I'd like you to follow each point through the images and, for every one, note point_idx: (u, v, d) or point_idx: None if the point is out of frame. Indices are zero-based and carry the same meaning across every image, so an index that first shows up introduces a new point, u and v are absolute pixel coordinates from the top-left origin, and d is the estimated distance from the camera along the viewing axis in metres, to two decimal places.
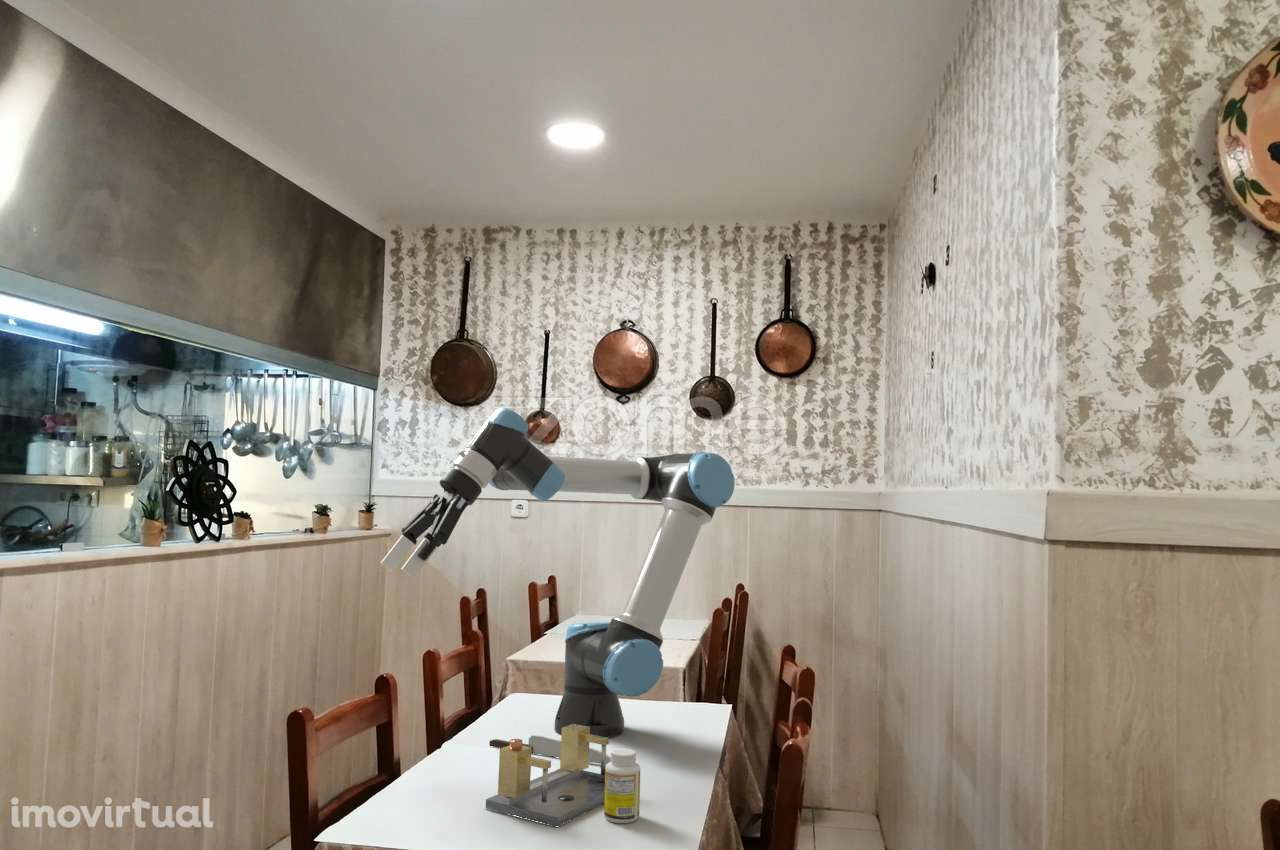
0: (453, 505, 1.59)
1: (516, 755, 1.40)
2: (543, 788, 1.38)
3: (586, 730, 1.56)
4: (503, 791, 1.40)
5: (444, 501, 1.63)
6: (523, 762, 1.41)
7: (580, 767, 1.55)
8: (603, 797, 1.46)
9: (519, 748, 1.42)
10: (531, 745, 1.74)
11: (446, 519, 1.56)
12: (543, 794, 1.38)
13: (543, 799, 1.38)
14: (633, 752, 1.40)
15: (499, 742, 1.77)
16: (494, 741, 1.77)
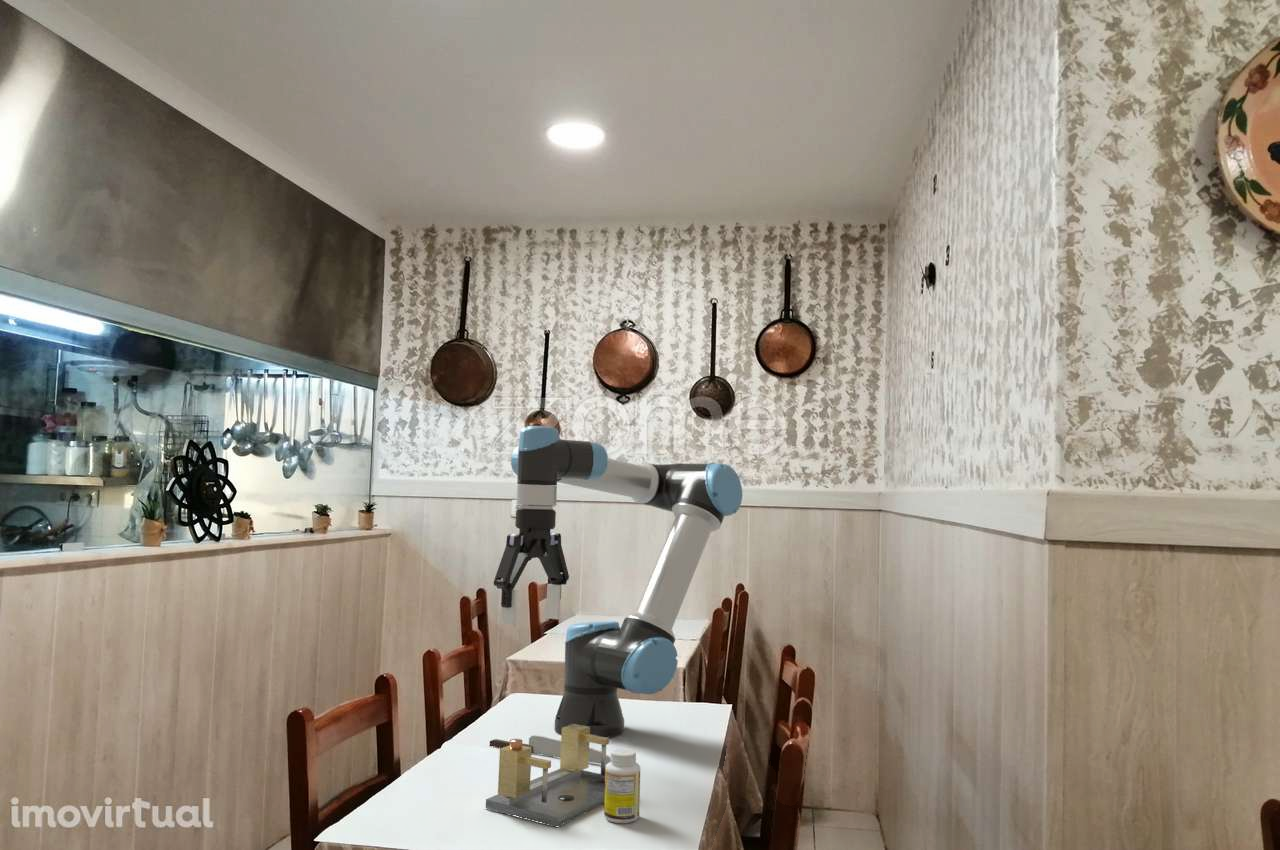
0: (507, 546, 1.62)
1: (516, 755, 1.40)
2: (543, 788, 1.38)
3: (586, 730, 1.56)
4: (503, 791, 1.40)
5: None
6: (523, 762, 1.41)
7: (580, 767, 1.55)
8: (603, 797, 1.46)
9: (519, 748, 1.42)
10: (531, 745, 1.74)
11: (501, 563, 1.60)
12: (543, 794, 1.38)
13: (543, 799, 1.38)
14: (633, 752, 1.40)
15: (499, 742, 1.77)
16: (494, 741, 1.77)
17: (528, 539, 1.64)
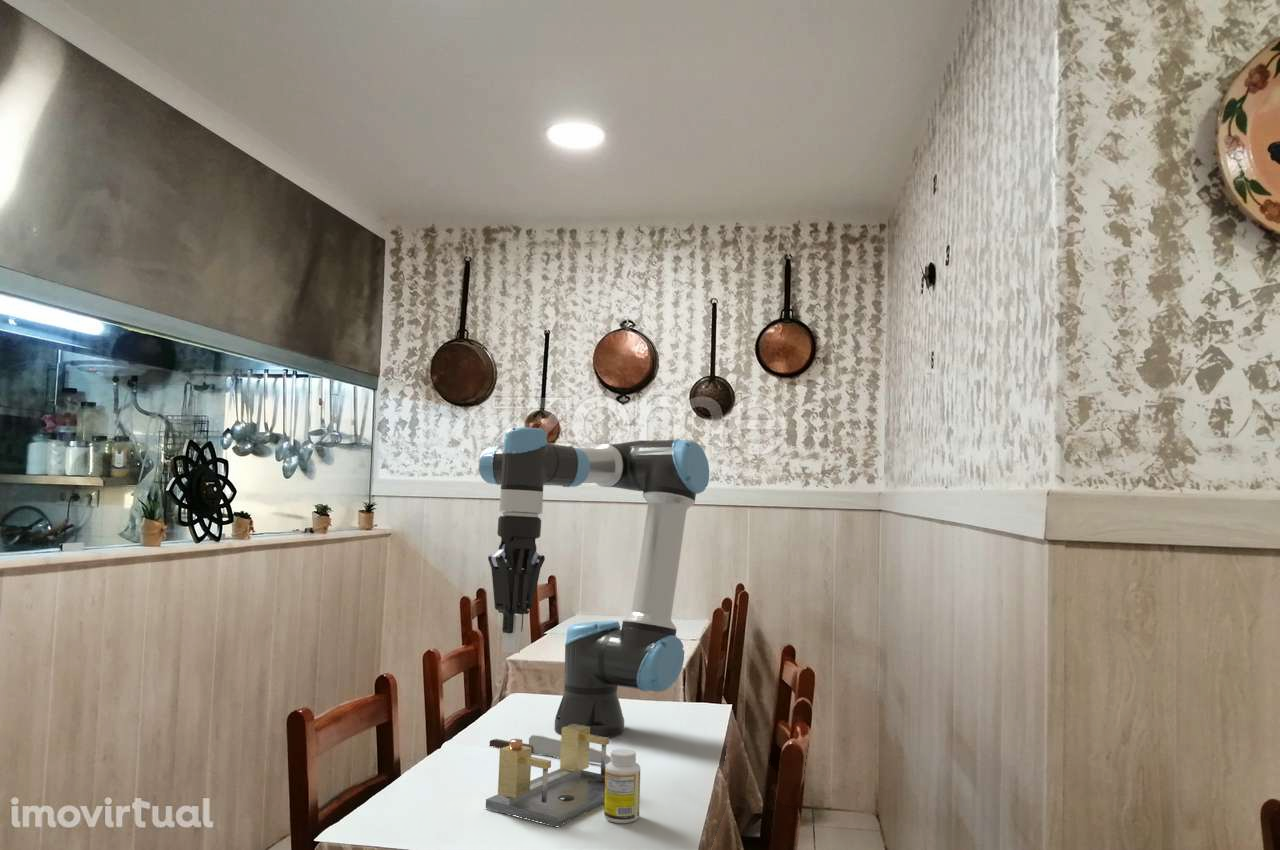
0: (492, 568, 1.51)
1: (516, 755, 1.40)
2: (543, 788, 1.38)
3: (586, 730, 1.56)
4: (503, 791, 1.40)
5: None
6: (523, 762, 1.41)
7: (580, 767, 1.55)
8: (603, 797, 1.46)
9: (519, 748, 1.42)
10: (531, 745, 1.74)
11: (494, 587, 1.51)
12: (543, 794, 1.38)
13: (543, 799, 1.38)
14: (633, 752, 1.40)
15: (499, 742, 1.77)
16: (494, 741, 1.77)
17: (510, 549, 1.52)
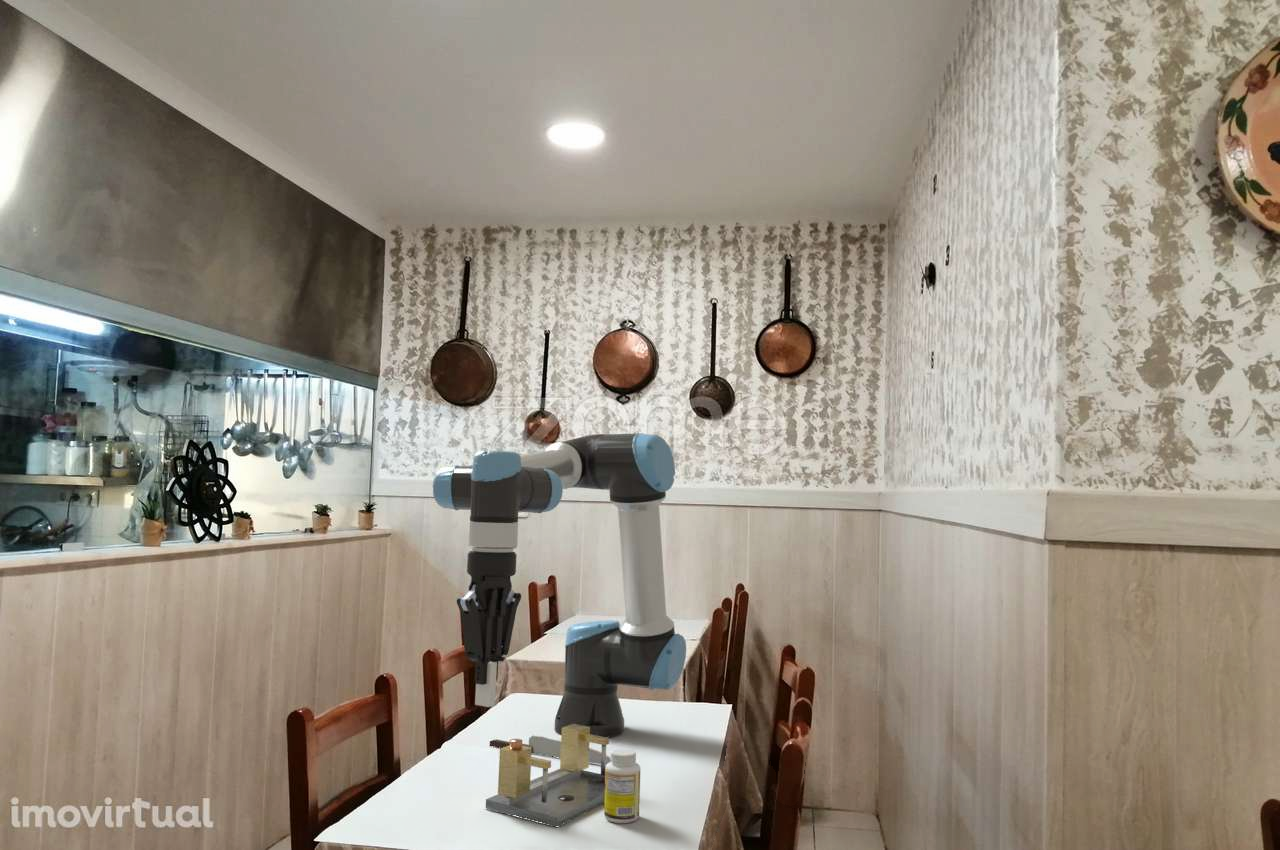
0: (461, 612, 1.33)
1: (516, 755, 1.40)
2: (543, 788, 1.38)
3: (586, 730, 1.56)
4: (503, 791, 1.40)
5: None
6: (523, 762, 1.41)
7: (580, 767, 1.55)
8: (603, 797, 1.46)
9: (519, 748, 1.42)
10: (531, 745, 1.74)
11: (464, 633, 1.34)
12: (543, 794, 1.38)
13: (543, 799, 1.38)
14: (633, 752, 1.40)
15: (499, 743, 1.77)
16: (494, 741, 1.77)
17: (482, 590, 1.34)
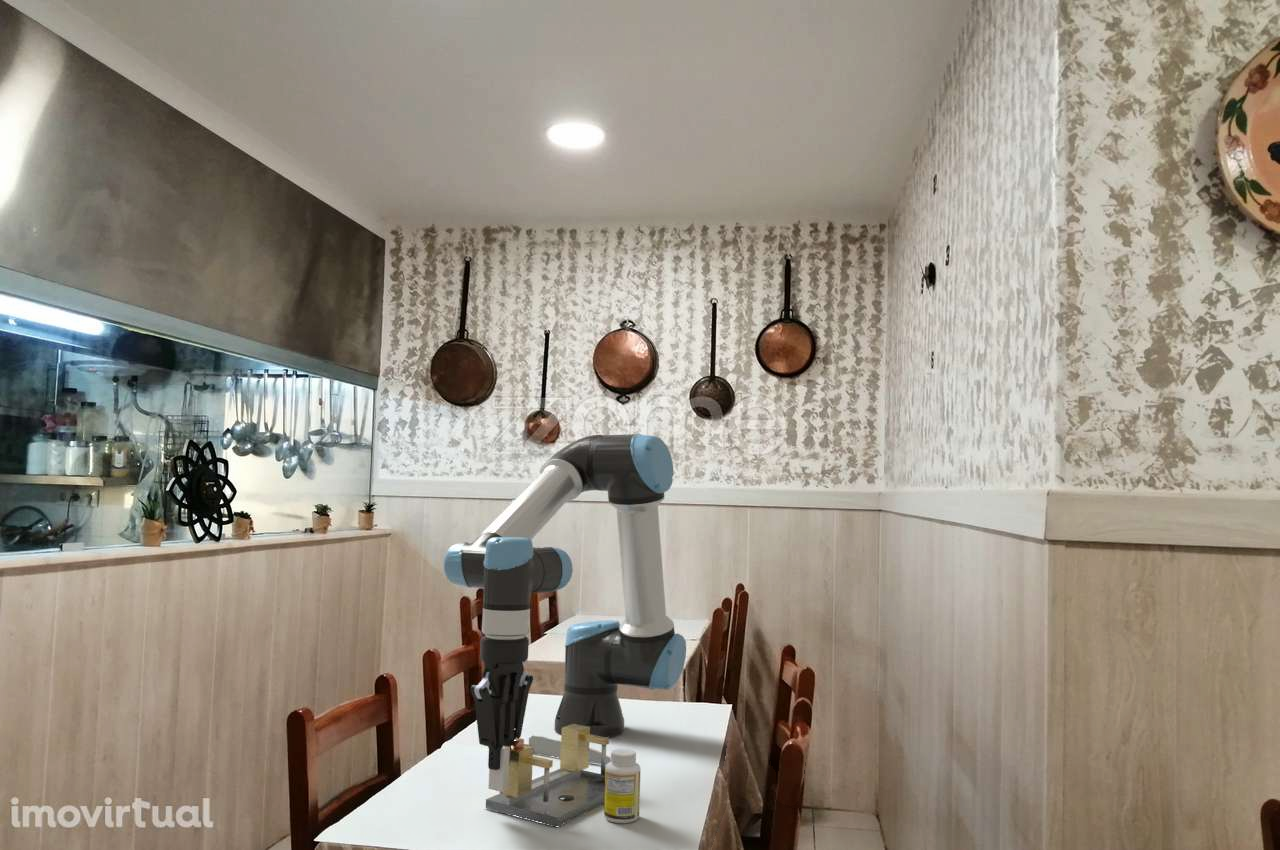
0: (475, 700, 1.36)
1: (518, 754, 1.40)
2: (545, 788, 1.39)
3: (586, 730, 1.56)
4: None
5: None
6: (524, 762, 1.41)
7: (580, 767, 1.55)
8: (603, 797, 1.46)
9: (521, 747, 1.42)
10: (531, 745, 1.74)
11: (478, 720, 1.36)
12: (545, 793, 1.39)
13: (545, 798, 1.39)
14: (633, 752, 1.40)
15: None
16: None
17: (495, 678, 1.37)
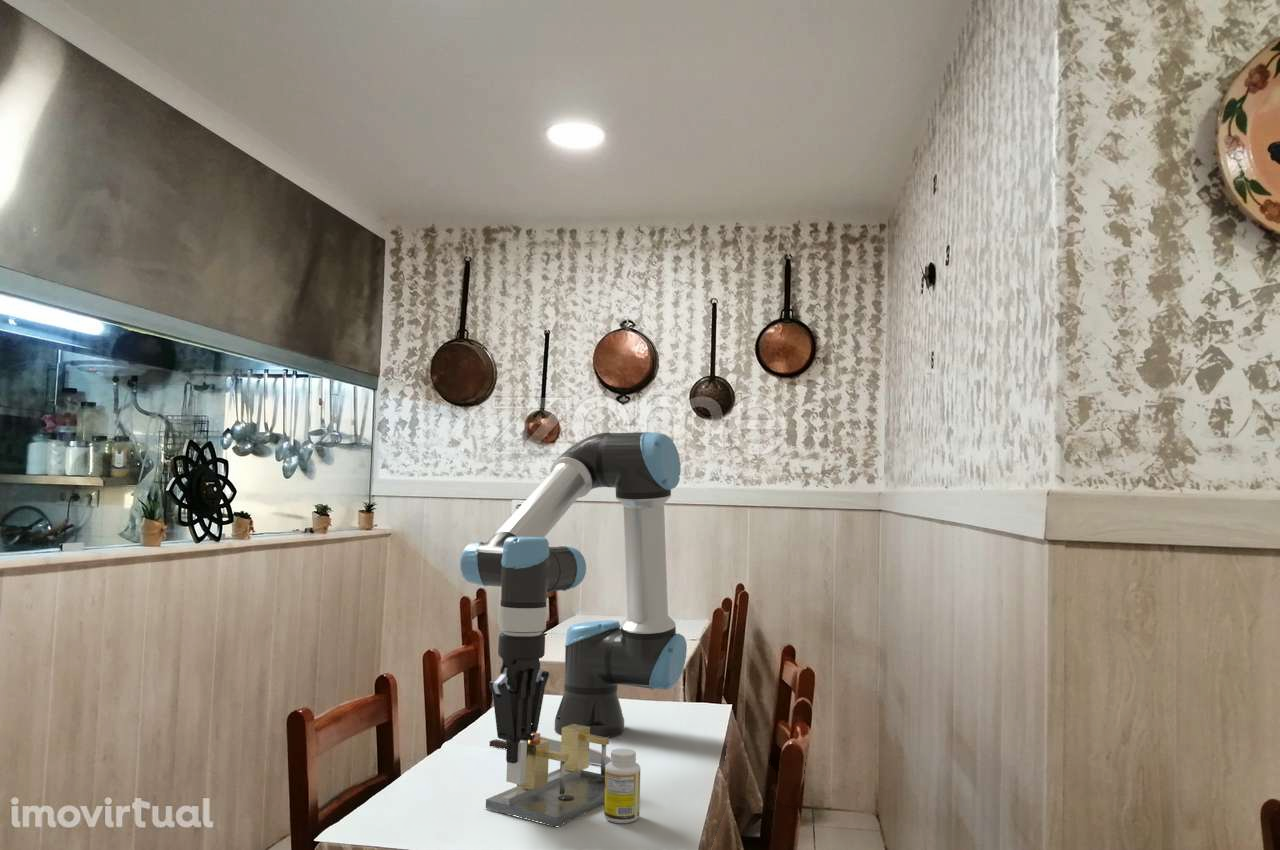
0: (494, 695, 1.39)
1: (534, 748, 1.44)
2: (561, 780, 1.42)
3: (586, 730, 1.56)
4: None
5: None
6: (541, 755, 1.45)
7: (580, 767, 1.55)
8: (603, 797, 1.46)
9: (537, 742, 1.46)
10: None
11: (497, 715, 1.40)
12: (561, 786, 1.42)
13: (561, 791, 1.42)
14: (633, 752, 1.40)
15: (499, 743, 1.77)
16: (494, 741, 1.77)
17: (513, 673, 1.40)
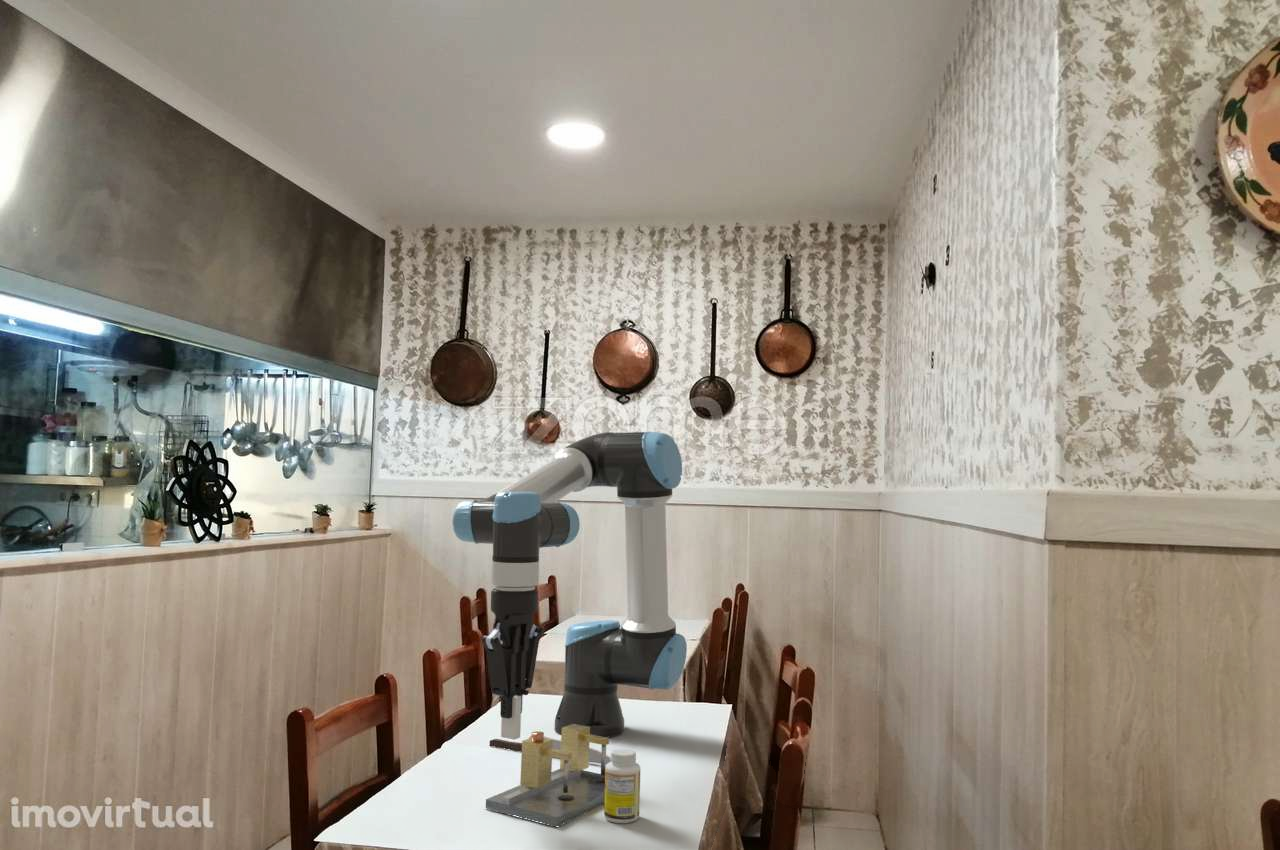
0: (487, 650, 1.38)
1: (538, 747, 1.45)
2: (565, 779, 1.43)
3: (586, 730, 1.56)
4: (525, 782, 1.45)
5: None
6: (544, 754, 1.45)
7: (580, 767, 1.55)
8: (603, 797, 1.46)
9: (541, 740, 1.46)
10: None
11: (490, 670, 1.38)
12: (564, 785, 1.43)
13: (564, 789, 1.43)
14: (633, 752, 1.40)
15: (499, 742, 1.77)
16: (494, 741, 1.77)
17: (506, 628, 1.39)
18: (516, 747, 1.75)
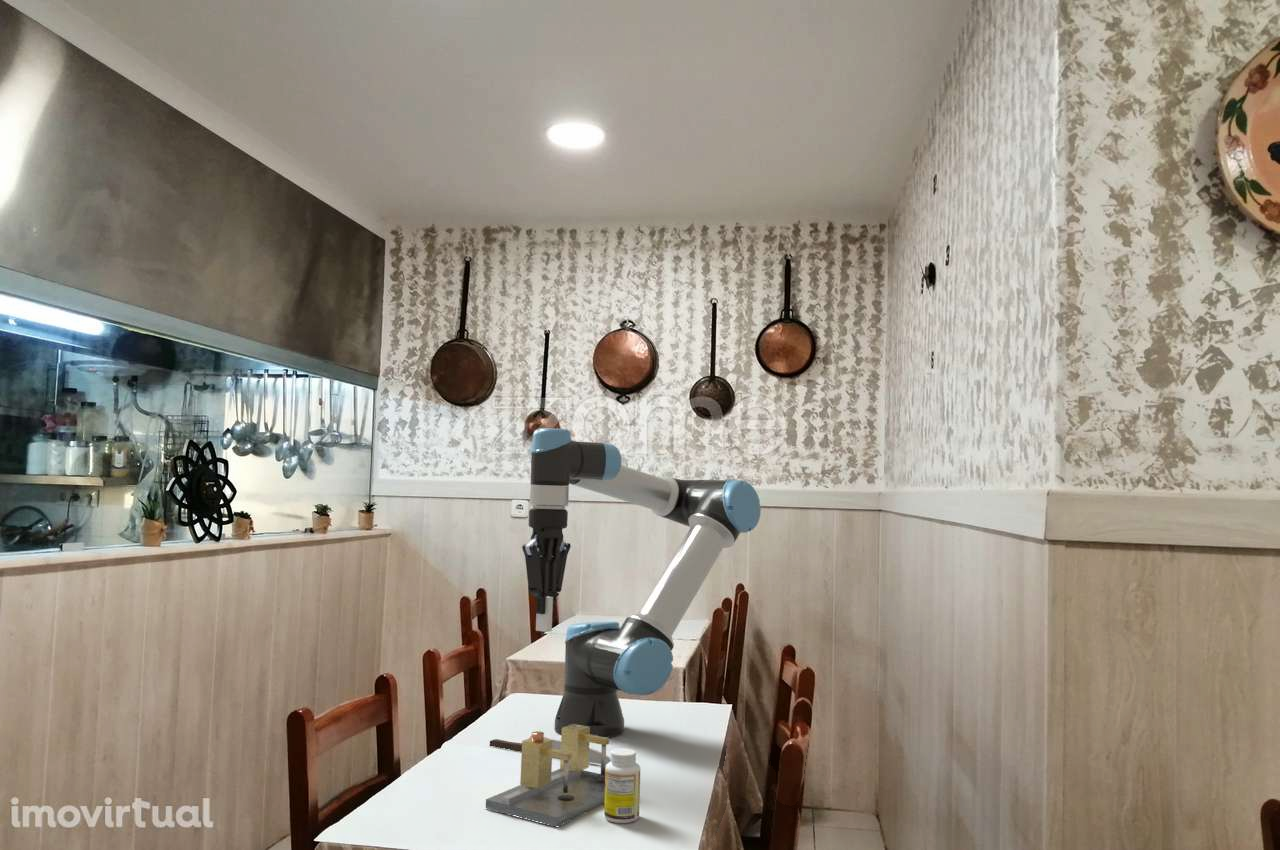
0: (526, 556, 1.68)
1: (538, 747, 1.45)
2: (565, 779, 1.43)
3: (586, 730, 1.56)
4: (525, 782, 1.45)
5: None
6: (544, 754, 1.45)
7: (580, 767, 1.55)
8: (603, 797, 1.46)
9: (541, 740, 1.46)
10: None
11: (528, 573, 1.68)
12: (564, 785, 1.43)
13: (564, 789, 1.43)
14: (633, 752, 1.40)
15: (499, 742, 1.77)
16: (494, 741, 1.77)
17: (541, 539, 1.69)
18: (516, 747, 1.75)
